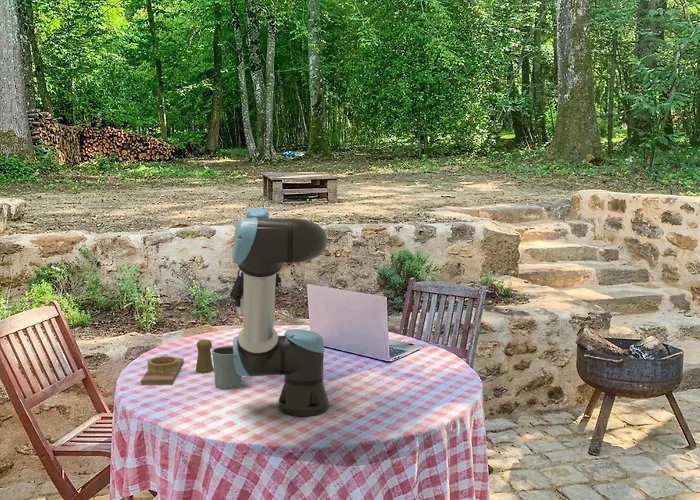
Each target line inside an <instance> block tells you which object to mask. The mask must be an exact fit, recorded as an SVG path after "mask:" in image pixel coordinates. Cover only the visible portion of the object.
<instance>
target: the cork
mask: <svg viewBox="0 0 700 500" xmlns="http://www.w3.org/2000/svg"><path fill="white" fill-rule="evenodd" d="M212 347H213V343H212V341H211V340H210V339H199V340H198V341H197V342H196V349H197V350H198V351H197V359H196V365H195V366H196V367H195V372H196V373H198V374H209V373H210V374H211V373H212V372H214V364H213V357H212V351H211V350H212Z"/></svg>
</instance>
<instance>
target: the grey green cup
mask: <svg viewBox="0 0 700 500" xmlns="http://www.w3.org/2000/svg"><path fill="white" fill-rule="evenodd" d="M211 350H212V351H211V357H212V365H213V372H214V386H215V387H216V388H217V389H220V390H234V389H238V388H241V386H242V382H243V376H240V375H238V374H237V372H236V369H235V364H234V354H233V345H224V346H218V347H215V348H213V349H211Z"/></svg>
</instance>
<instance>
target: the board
mask: <svg viewBox="0 0 700 500" xmlns="http://www.w3.org/2000/svg"><path fill="white" fill-rule="evenodd" d="M183 364H185V361H184V358H181V357H180V358H178V357H175V356H169V355H164V356H163V355H162V356H154V357H151V358H150V359H148V360H147V371H146V372H145V374H144V375H143V377H142V378H141V379H140V386H172V385H173V384H174V382H175V380H176V378H177V376H178V375H179V372H180V370H181V369H182V366H183Z"/></svg>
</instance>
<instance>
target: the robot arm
mask: <svg viewBox="0 0 700 500" xmlns="http://www.w3.org/2000/svg"><path fill="white" fill-rule="evenodd" d="M234 229H235V230H234V236H233V244H232V256H231V257H232V258H231V260H232V263H233V264H236V265H237V266H238V270H237V276H236V279H235V282H234V284H233V286H232V289H231V291H230V294H229V297H230V298H232V299H233V300H234V304H235V306H236V313H237V314H238V315H240V316H241V317H242V319H243V324H242V325H243V326H242V329H241V330H240V331H239V332H238V334H237V336H234V337H233V339H232V346H233V354H234V364H235V369H236V372H237V374H238V375H240V376H242V377H250V378H251V377H264V376H265V377H266V376H268V377H269V376H284V383H283V386H282V388H281V392H280V394H279V397H278V403H277V406H278V407H277V408H278V410H279V411H281V413H284V414H286V415H290V416H296V417H312V416H317V415H321V414H323V413H325V412H326V411H328V409H329V404H330V403H329V398H328V397H329V396H328V394H327V390H326V388H325V384H324V353H325V345H324V339H323V337H322V335H320V333H317V332H315V331H311V330H310V329H309V330H307V329H301V328H292V329H290V328H289V329H287V330H285V332H284V333H283V335H279V334H278V332H277V330H276V329H275V328H274V326H275V307H276V306H275V305H276V304H275V303H276V302H275V301H276V294H277V288H278V287H279V286H280V285H279V284H281V283H282V279H281V277H280V274H279V273H280V272H281V270H282V267H283V264H300V263H305V262H309V261H312V260H313V259H316V258H318V257H320V256H321V255H322V254H323V253H324V252H325V251H326V248H327V245H328V236H327V233H326V230H324V228H323V227H321V226H320V225H319V224H317V223H316V222H313V221H310V220H307V219H302V218H296V217H295V218H294V217H293V218H270V215H269V211H268V210H267V209H265V208H262V207H261V208H260V207H253V208H249V209H247V211H246V212H245V218H241V219H239V220H238V221H237V223H236V225H235V228H234Z"/></svg>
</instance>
